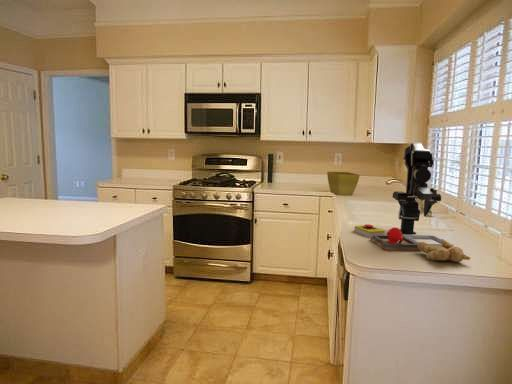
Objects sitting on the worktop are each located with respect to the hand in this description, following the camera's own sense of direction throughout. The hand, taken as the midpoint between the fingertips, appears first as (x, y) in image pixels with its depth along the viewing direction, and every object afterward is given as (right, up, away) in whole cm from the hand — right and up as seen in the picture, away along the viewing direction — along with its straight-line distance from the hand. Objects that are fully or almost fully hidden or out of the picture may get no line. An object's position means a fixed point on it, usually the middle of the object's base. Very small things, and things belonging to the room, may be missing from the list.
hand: (414, 216), depth 159 cm
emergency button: (-15, -10, +13) cm, 22 cm away
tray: (+6, -12, +2) cm, 13 cm away
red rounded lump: (-10, -11, -5) cm, 16 cm away
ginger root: (+2, -15, -21) cm, 26 cm away
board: (-10, -12, -4) cm, 16 cm away
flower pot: (+1, +8, +139) cm, 139 cm away
